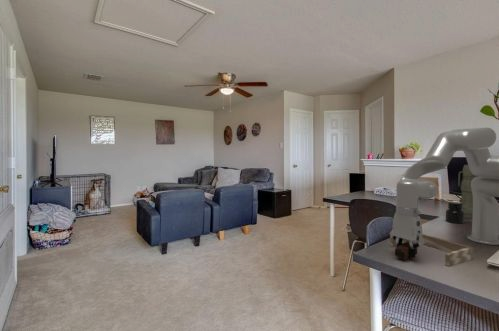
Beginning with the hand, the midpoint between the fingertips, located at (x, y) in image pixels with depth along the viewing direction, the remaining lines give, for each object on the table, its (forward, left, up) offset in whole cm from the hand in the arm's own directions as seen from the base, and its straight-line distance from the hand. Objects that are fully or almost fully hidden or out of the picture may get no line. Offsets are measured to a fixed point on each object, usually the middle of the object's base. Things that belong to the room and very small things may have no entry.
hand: (405, 254), depth 106 cm
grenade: (-102, -26, -1) cm, 105 cm away
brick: (0, 0, -1) cm, 1 cm away
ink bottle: (-80, -23, -1) cm, 83 cm away
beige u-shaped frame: (-15, 0, -1) cm, 15 cm away
